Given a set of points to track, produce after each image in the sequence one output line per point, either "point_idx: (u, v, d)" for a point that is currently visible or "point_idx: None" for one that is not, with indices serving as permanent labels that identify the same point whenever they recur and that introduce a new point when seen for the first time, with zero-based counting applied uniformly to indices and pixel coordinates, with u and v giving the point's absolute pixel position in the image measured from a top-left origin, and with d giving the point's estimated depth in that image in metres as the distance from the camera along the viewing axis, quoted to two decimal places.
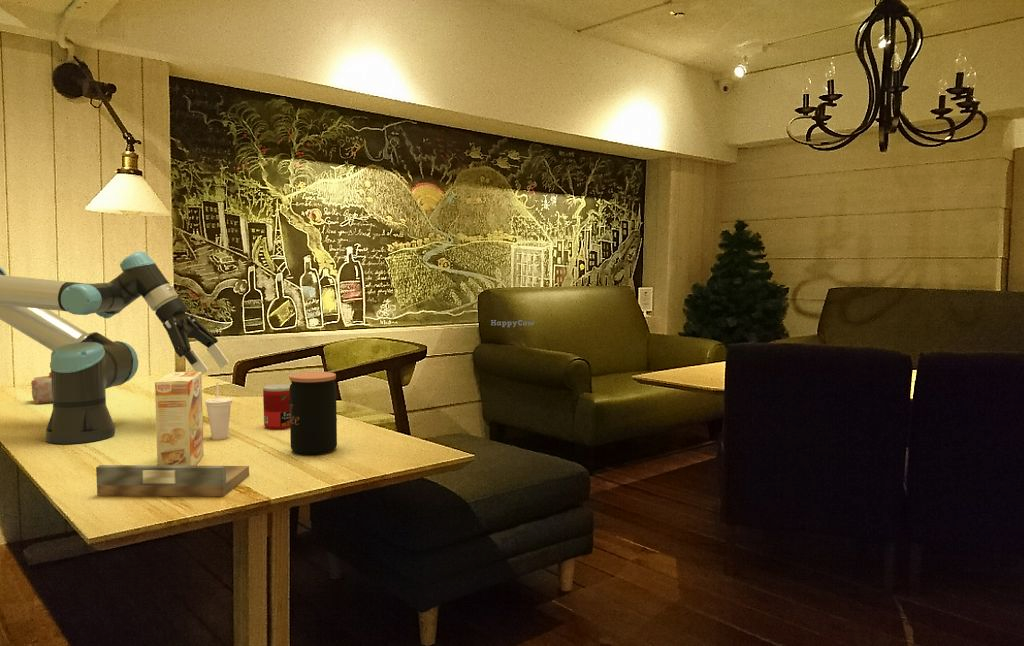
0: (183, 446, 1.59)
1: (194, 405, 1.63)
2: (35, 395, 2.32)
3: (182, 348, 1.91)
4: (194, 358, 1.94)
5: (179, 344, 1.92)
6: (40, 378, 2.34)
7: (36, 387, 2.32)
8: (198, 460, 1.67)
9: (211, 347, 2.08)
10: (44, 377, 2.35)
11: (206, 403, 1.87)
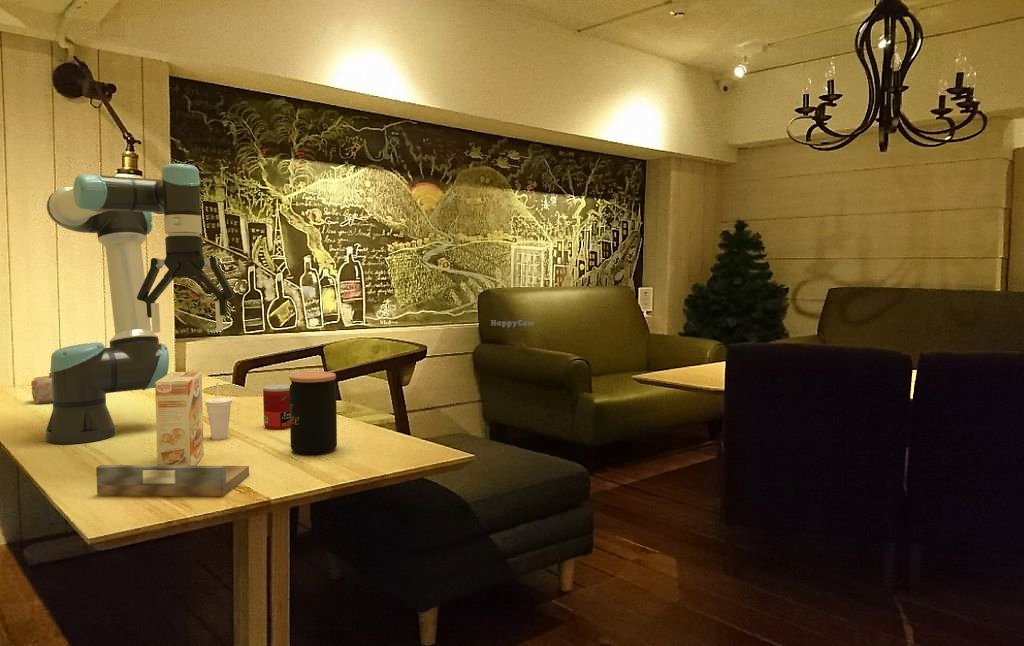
0: (183, 446, 1.59)
1: (194, 405, 1.63)
2: (35, 395, 2.32)
3: None
4: (149, 313, 1.66)
5: None
6: (40, 378, 2.34)
7: (36, 387, 2.32)
8: (198, 460, 1.67)
9: None
10: (44, 377, 2.35)
11: (206, 403, 1.87)
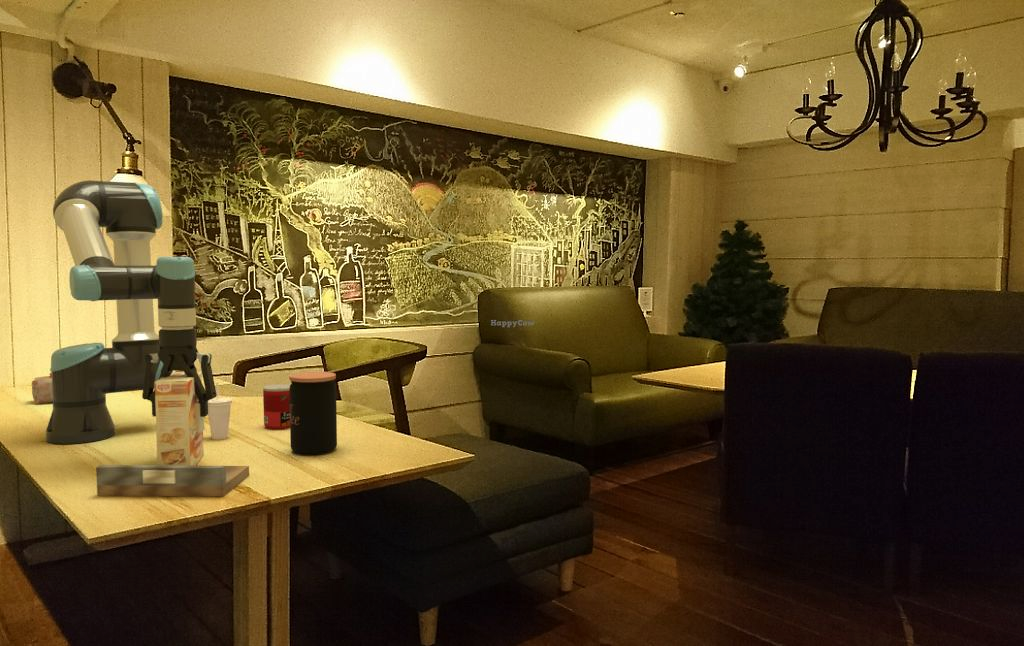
0: (183, 446, 1.59)
1: (194, 405, 1.63)
2: (36, 395, 2.32)
3: None
4: (154, 412, 1.64)
5: None
6: (41, 378, 2.33)
7: (37, 387, 2.32)
8: (198, 460, 1.67)
9: None
10: (45, 377, 2.35)
11: None
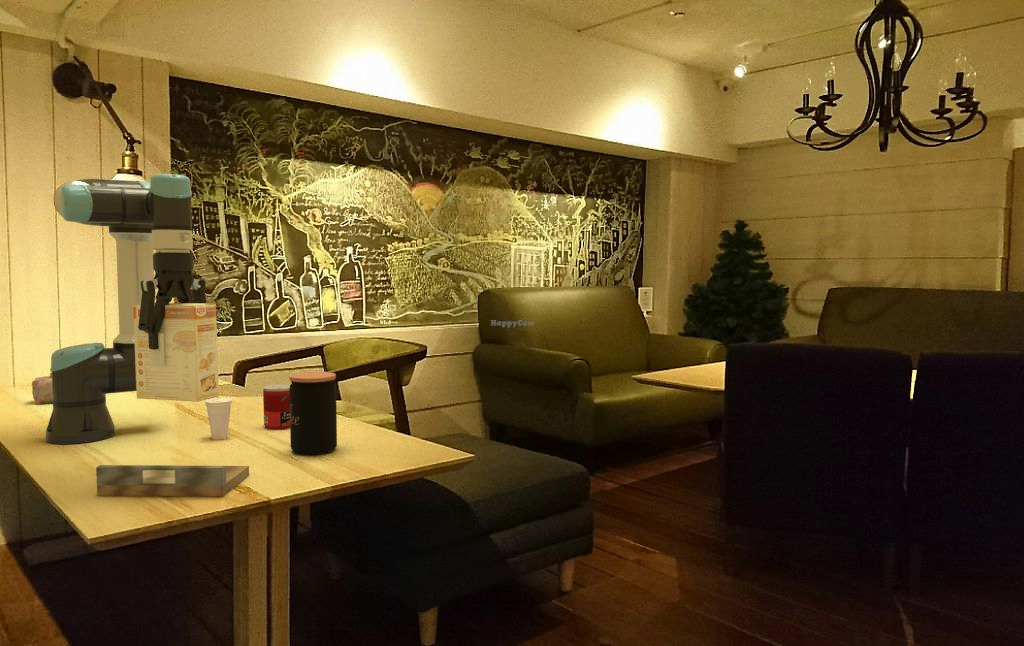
0: (214, 371, 1.55)
1: None
2: (36, 395, 2.32)
3: (145, 328, 1.47)
4: (156, 344, 1.50)
5: (144, 321, 1.47)
6: (41, 378, 2.33)
7: (37, 387, 2.31)
8: None
9: None
10: (45, 377, 2.34)
11: (206, 403, 1.87)
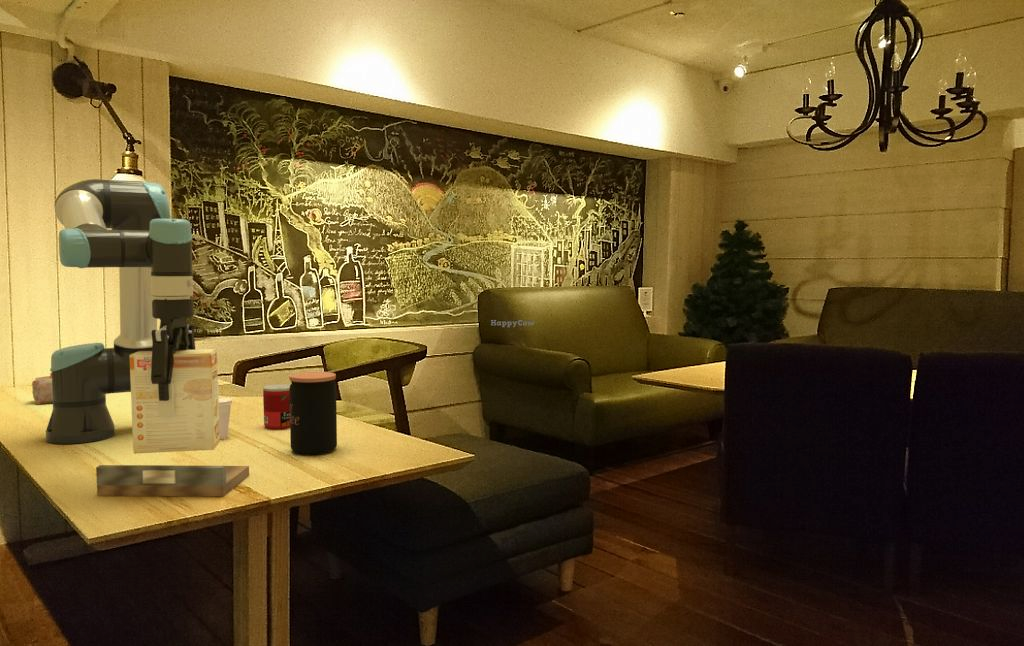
0: (218, 417, 1.54)
1: None
2: (37, 395, 2.32)
3: (161, 380, 1.42)
4: (167, 395, 1.44)
5: (160, 372, 1.42)
6: (42, 378, 2.33)
7: (38, 387, 2.31)
8: None
9: None
10: (45, 377, 2.34)
11: None
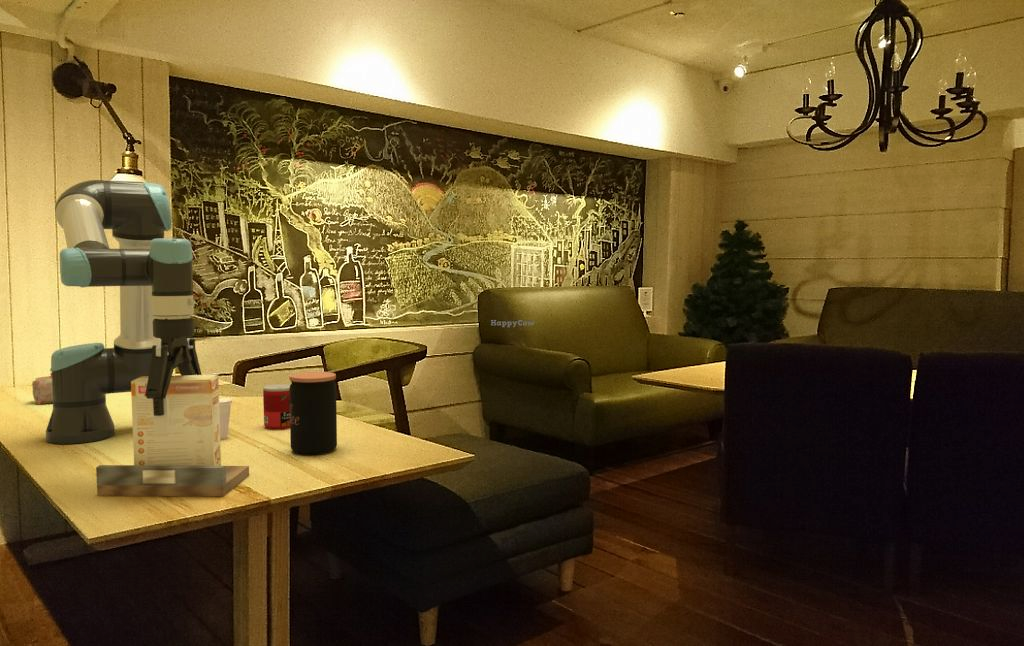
0: (219, 442, 1.54)
1: None
2: (37, 395, 2.32)
3: (156, 394, 1.40)
4: (162, 410, 1.42)
5: (156, 386, 1.40)
6: (42, 378, 2.33)
7: (38, 387, 2.31)
8: None
9: None
10: (46, 377, 2.34)
11: None
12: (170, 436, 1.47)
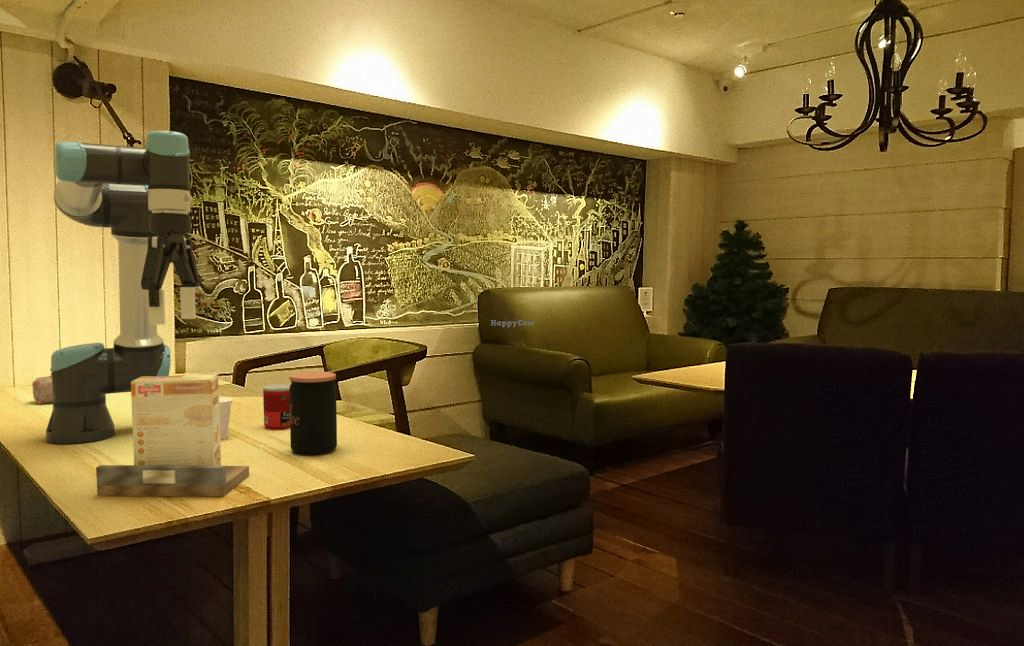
0: (219, 442, 1.54)
1: None
2: (38, 395, 2.32)
3: (151, 283, 1.38)
4: (157, 301, 1.40)
5: (151, 276, 1.38)
6: (42, 378, 2.33)
7: (39, 387, 2.31)
8: None
9: (187, 289, 1.54)
10: (46, 377, 2.34)
11: None
12: (170, 436, 1.47)
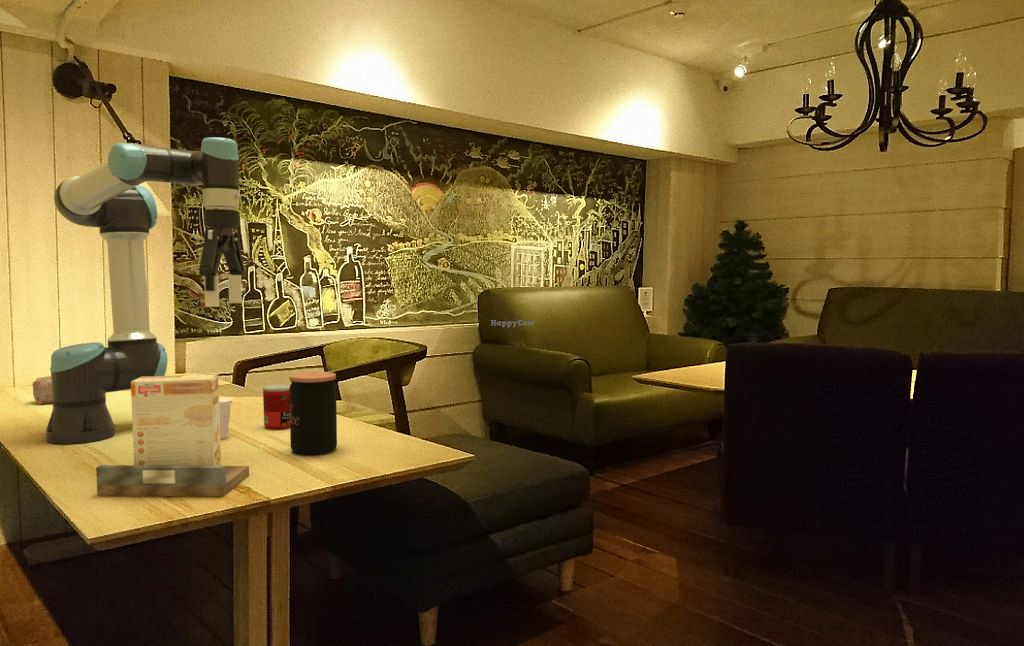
0: (219, 442, 1.54)
1: None
2: (38, 396, 2.32)
3: (208, 270, 1.59)
4: (213, 286, 1.61)
5: (208, 264, 1.59)
6: (43, 378, 2.33)
7: (39, 387, 2.31)
8: None
9: (234, 276, 1.75)
10: (46, 377, 2.34)
11: None
12: (170, 436, 1.47)
